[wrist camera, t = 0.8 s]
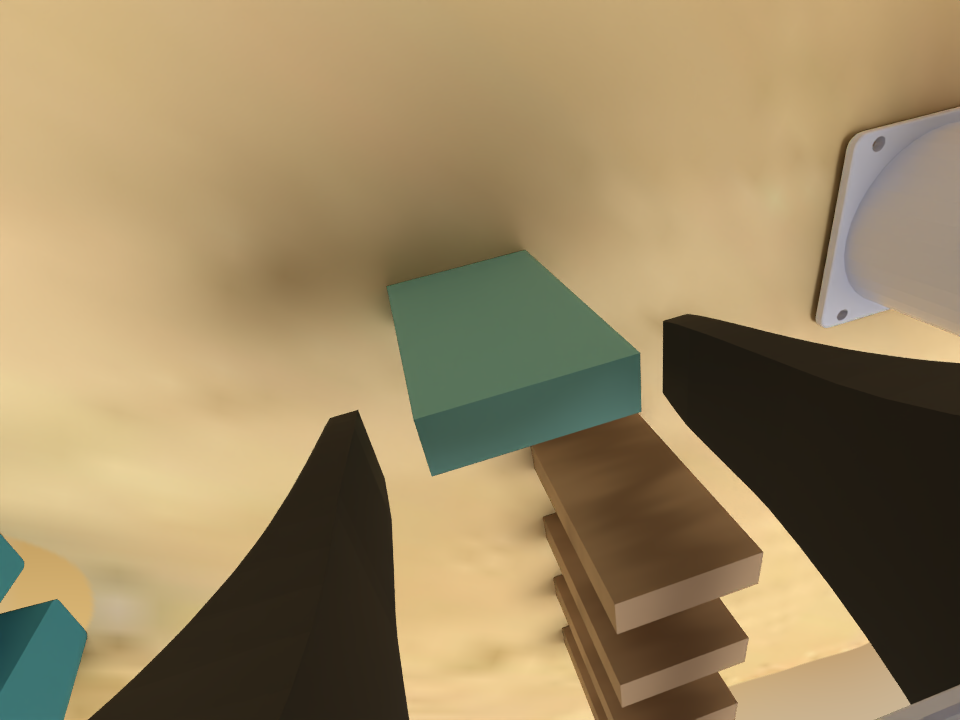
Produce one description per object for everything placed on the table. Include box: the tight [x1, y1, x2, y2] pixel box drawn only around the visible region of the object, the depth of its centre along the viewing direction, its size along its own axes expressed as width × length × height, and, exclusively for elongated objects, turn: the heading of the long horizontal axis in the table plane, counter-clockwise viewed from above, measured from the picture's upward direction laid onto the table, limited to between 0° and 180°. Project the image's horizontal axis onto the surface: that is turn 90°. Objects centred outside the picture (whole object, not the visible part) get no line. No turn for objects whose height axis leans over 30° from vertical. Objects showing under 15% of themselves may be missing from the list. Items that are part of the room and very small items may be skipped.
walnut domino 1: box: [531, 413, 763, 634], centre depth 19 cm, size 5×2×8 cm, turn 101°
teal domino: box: [387, 250, 641, 476], centre depth 14 cm, size 5×2×8 cm, turn 101°
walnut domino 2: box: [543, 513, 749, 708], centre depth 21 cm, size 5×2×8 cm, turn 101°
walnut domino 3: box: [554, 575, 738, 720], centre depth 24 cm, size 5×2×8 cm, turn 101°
